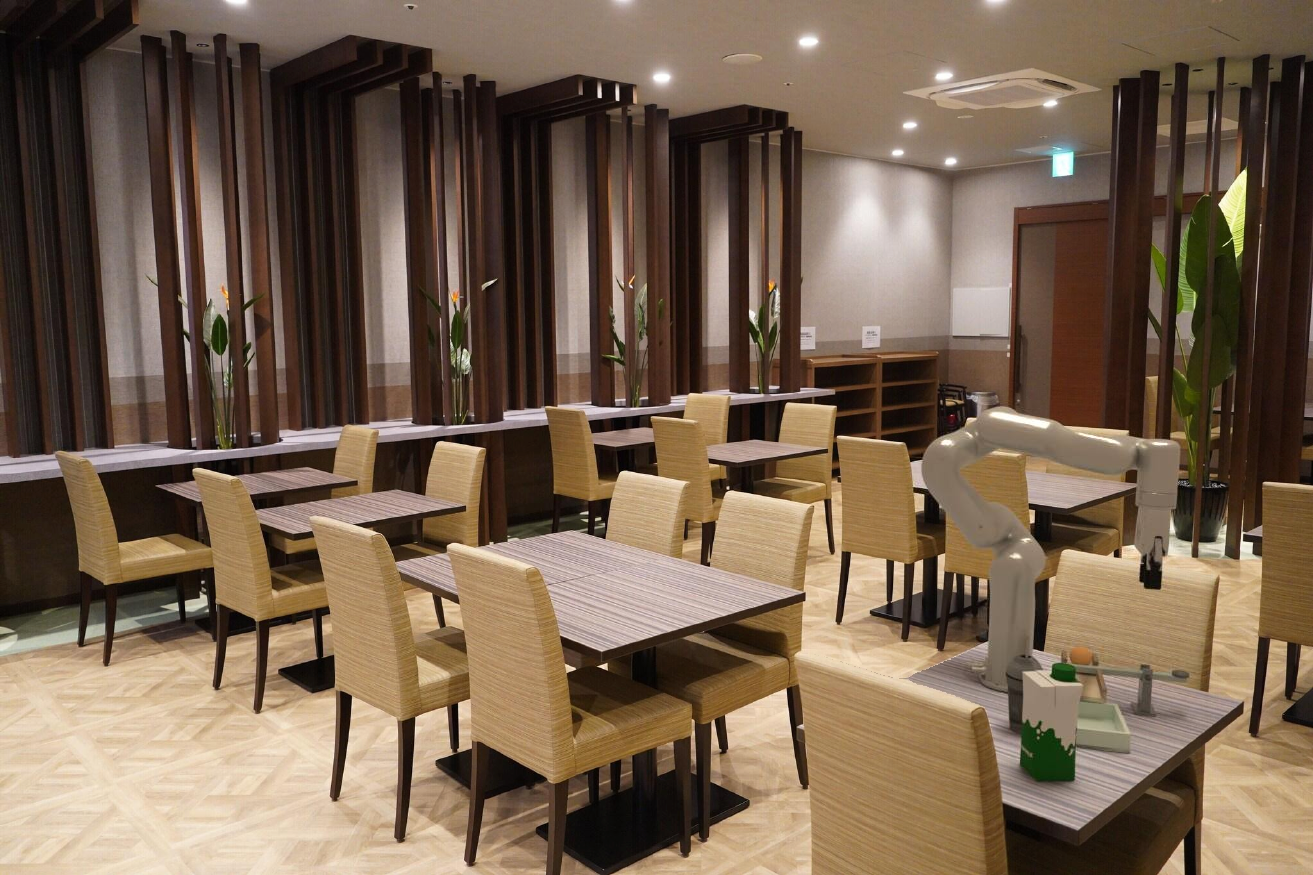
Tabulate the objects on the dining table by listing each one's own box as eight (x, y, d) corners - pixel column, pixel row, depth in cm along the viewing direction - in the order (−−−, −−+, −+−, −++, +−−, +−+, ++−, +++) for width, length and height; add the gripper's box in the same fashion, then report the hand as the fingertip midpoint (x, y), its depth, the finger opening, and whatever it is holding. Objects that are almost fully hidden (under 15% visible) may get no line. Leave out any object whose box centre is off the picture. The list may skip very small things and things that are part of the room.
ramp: (1067, 720, 202) (1070, 675, 201) (1059, 691, 218) (1061, 649, 217) (1104, 724, 201) (1107, 679, 199) (1093, 695, 216) (1096, 652, 215)
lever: (1062, 671, 210) (1062, 663, 210) (1060, 666, 213) (1061, 658, 213) (1190, 684, 203) (1191, 676, 203) (1186, 679, 206) (1187, 670, 206)
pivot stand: (1135, 714, 206) (1138, 670, 205) (1130, 704, 211) (1133, 661, 210) (1156, 716, 205) (1159, 672, 204) (1151, 707, 210) (1154, 663, 209)
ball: (1069, 670, 213) (1071, 654, 210) (1067, 656, 216) (1069, 641, 214) (1091, 672, 211) (1093, 657, 209) (1089, 658, 215) (1091, 643, 213)
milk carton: (1082, 782, 176) (1089, 675, 173) (1033, 784, 175) (1039, 676, 172) (1058, 760, 184) (1064, 657, 182) (1011, 762, 184) (1017, 659, 181)
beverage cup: (1035, 723, 201) (1040, 629, 198) (1045, 738, 194) (1051, 641, 191) (998, 721, 202) (1003, 627, 199) (1007, 737, 194) (1012, 639, 192)
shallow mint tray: (1061, 745, 191) (1063, 726, 190) (1053, 714, 205) (1054, 697, 205) (1129, 753, 188) (1130, 734, 187) (1116, 721, 202) (1117, 704, 202)
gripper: (1128, 491, 211) (1123, 574, 214) (1143, 505, 195) (1137, 595, 198) (1167, 493, 209) (1161, 577, 211) (1185, 508, 193) (1178, 598, 195)
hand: (1149, 584), depth 204 cm, fingers open, 4 cm apart
